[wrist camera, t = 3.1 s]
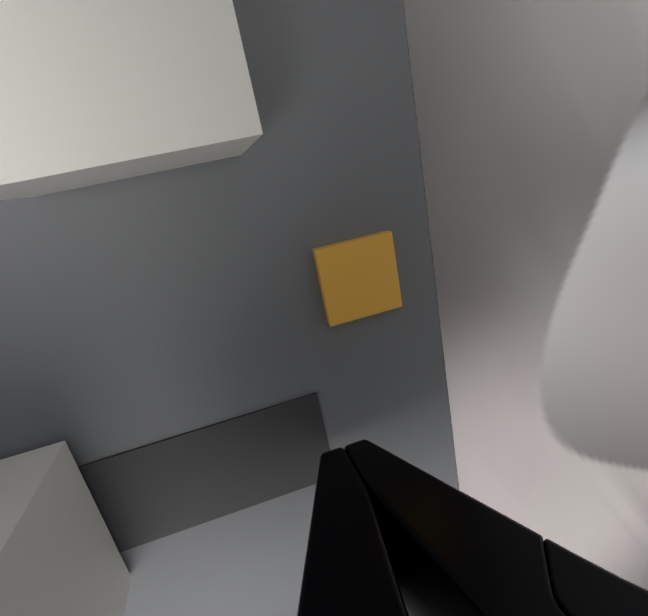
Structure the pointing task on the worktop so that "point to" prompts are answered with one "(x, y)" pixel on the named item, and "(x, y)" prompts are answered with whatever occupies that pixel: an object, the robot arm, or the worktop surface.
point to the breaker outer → (118, 91)
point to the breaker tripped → (55, 541)
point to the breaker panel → (237, 319)
